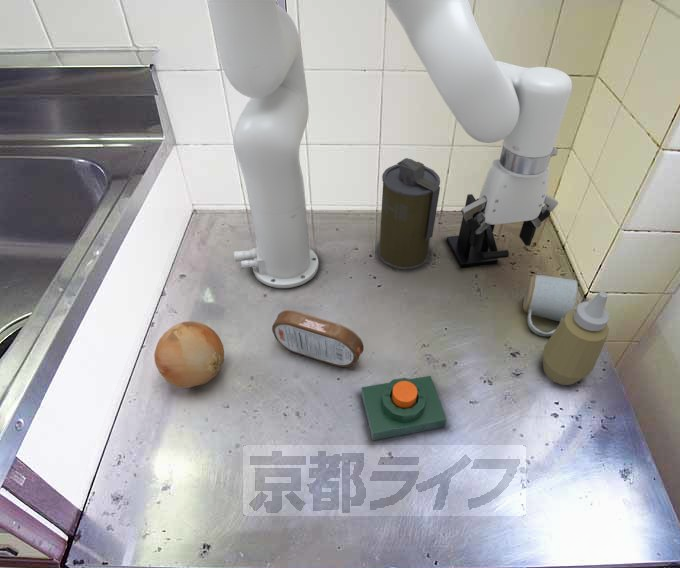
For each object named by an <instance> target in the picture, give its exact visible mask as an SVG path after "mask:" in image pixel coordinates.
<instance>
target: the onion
mask: <svg viewBox="0 0 680 568" xmlns="http://www.w3.org/2000/svg"><path fill="white" fill-rule="evenodd" d="M153 356H154V364H155V366H156V368H157V370H158V372H159V374H160V375H161V376H162V377H163V379H165V380H166V381H167V382H168V383H169V384H170V385H173V386H175V387H178V388H192V387H197V386H201V385H205V384H206V383H208V382H209V381H211V380H212V379H214V378H215V377H216V376H217V375H218V374H219V372H220V370H221V369H222V366H223V364H224V361H225V348H224V344H223V341H222V340H221V338H220V336H219V334H218V333H217V332H216V331H214V329H213V328H211V327H210V326H209V325H207V324H204V323H203V322H197V321H191V320H190V321H182V322H180V323H177V324H175V325H173V326H171V327H170V328H169V329H168V330H166V332H164V333H163V334H162V336H161V337H160V338H159V339H158V342H157V344H156V347H155V350H154V354H153Z"/></svg>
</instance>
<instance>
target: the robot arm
mask: <svg viewBox="0 0 680 568" xmlns="http://www.w3.org/2000/svg"><path fill="white" fill-rule="evenodd" d="M384 1H385V4H387V6H388V7H389V9H390V10H391V12H392V14H393V15H394V16H395V18H396V19H397V21H398V23H399V24H400V26H401V27H402V29H403V31H404V32H405V34H406V36H407V39H408V40H409V43H410V45H411V46H412V49H413V50H414V51H415V53H416V55H417V56H418V58H419V60H420V61H421V63H422V65H423V67H424V68H425V70H426V72H427V74H428V76H429V78H430V79H431V81H432V83H433V85H434V86H435V88H436V90H437V92H438V93H439V95H440V96H441V97H442V98H441V99H442V100H443V102H444V103H445V105H446V106H447V107H448V109H449V110H450V112H451V113H452V115H453V117H454V118H455V119H456V120H457V122H458V123H459V125H460V126H461V128H462V129H463V131H464V132H465V133H466V134H467V135H468V136H469V137H471V138H472V139H474V140H475V141H477V142H480V143H485V144H492V143H493V144H494V143H497V142H499V141H500V142H501V141H502V144H501V146H500V147H501V148H500V153H499V156H498V159H494V160H493V161H492V163H491V164H490V167H489V168H488V171H487V173H486V176H485V177H484V178H485V179H484V181H483V184H482V187H481V191H480V194H479V197H478V199H479V200H477V201H475V202H473V203H471V204H469V205H468V206H466V207H465V206H464V207H462V208H461V210H460V212H461V214H462V218H463V217H464V219H465V221H466V223H467V225H468V226H469V227H470V228H471V229H472V231H471V235H470V244H471V246H473V248H474V249H475V251H476V252H480V251H481V247H482V243H483V239H484V233H483V231H484V230H485V229H486V228H487V227H488V226H489V225H491V224H492V225H495V226H496V225H503V224H505V225H506V224H512V223H520V222H522V226H521V229H520V232H519V238H520V240H521V241H522V242H523V244H524V246H526V247H530V246H531V244H532V241H533V239H534V236H535V234H536V230H537V229H538V228H539V227H541V226H542V222H544V221H545V220H546V219H547V218H549V217H550V215H551V212H553V211H554V210H555V209H556V207H557V206H558V205H559V201H558V200H557V199H556V198H555V197H553V196H552V195H549V194H547V190H548V186H549V181H550V180H549V179H550V165H549V163H550V160H551V158H552V157H556V156H557V155H558V147H556V146H555V143H556V140H557V137H558V134H559V131H560V128H561V125H562V123H563V119H564V115H565V112H566V110H567V106H568V103H569V100H570V97H571V93H572V89H573V82H572V81H573V80H572V79H571V77H570V76H569V75H568V74H567V73H566V72H564V71H562V70H560V69H557V68H554V67H550V66H549V67H548V66H534V67H526V66H525V67H524V66H520V65H516V64H511V63H508V62H504V61H500V60H497V59H496V60H495V59H494V57H493V55H492V53H491V51H490V49H489V47H488V46H487V43H486V41H485V39H484V37H483V35H482V33H481V30H480V28H479V26H478V24H477V21H476V19H475V16H474V12H473V10H472V7H471V3H470V1H469V0H384ZM206 2H207V6H208V7H207V8H208V11H209V15H210V19H211V23H212V28H213V32H214V36H215V41H216V44H217V49H218V54H219V58H220V62H221V66H222V69H223V72H224V74H225V76H226V79H227V80H228V82H229V84H230V85H231V86H232V87H233V88H234V90H235V91H237V92H238V93H239V94H241V95H243V96H245V97H247V98H249V100H248V102H247V103H246V104H245V106H244V108H243V109H242V111H241V113H240V115H239V117H238V119H237V122H236V124H235V128H234V130H233V149H234V153H235V156H236V159H237V163H238V165H239V168H240V170H241V173H242V176H243V177H242V178H243V180H244V185H245V190H246V194H247V200H248V205H249V209H250V210H249V211H250V215H251V221H252V227H253V231H254V236H255V247H251V248H250V250H237V251H233V258H234V262H235V263H236V262H240V264H241V268H242V269H248V268H252V270H253V271H252V272H253V274H254V276H255V278H256V279H257V280H258V281H259V282H261V283H262V284H263V285H266V286H269V287H271V288H275V289H290V288H295V287H299V286H302V285H304V284H307V282H310V280H312V279H313V278H314V277H315V276H316V274H317V272H318V271H319V258H318V254H316V252H315V251H314V250H313V249H312V248H310V239H309V228H308V218H307V217H308V216H307V204H306V193H305V183H304V176H303V171H302V167H301V160H300V159H301V158H300V149H301V143H302V139H303V137H304V133H305V130H306V128H307V124H308V121H309V114H310V113H309V112H310V111H309V110H310V107H309V97H308V89H307V88H308V87H307V81H306V80H307V79H306V73H305V65H304V58H303V57H304V56H303V50H302V49H303V48H302V42H301V39H300V35H299V31H298V29H297V26H296V24H295V22H294V20H293V18H292V17H291V15H290V14H289V13H288V12H287V11H286V10H285V9H284V8H282V6H281V5H279V4H278V3H277V0H206ZM478 211H480V213H479V214H478V215H477V216H476V217H475V218H474V219H473V218H472V215H473V214H474V213H476V212H478ZM483 219H484V221H483V222H482V223H481V224H479V223H480V222H481V221H482V220H483Z"/></svg>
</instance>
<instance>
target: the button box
mask: <svg viewBox="0 0 680 568" xmlns="http://www.w3.org/2000/svg"><path fill="white" fill-rule="evenodd" d="M400 381H408V382H411V383H413V384H414V385H415V386H416V388H417V398H416V402H415V404H414V405H413V406H411V407H409V408H401V407H398V406H397V405H395V404H394V402H393V400H392V392H393V387H394V385H395V384H396V383H398V382H400ZM361 398H362V403H363V407H364V411H365V414H366V419H367V422H368V427H369V431H370V435H371V436H370V437H371V440H372V441H378V440H383V439H388V438H394V437H400V436H404V435H410V434H416V433H419V432H425V431H430V430H436V429H441V428H445V426H446V422H447V417H446V415H445V411H444V409H443V406H442V404H441V401H440V398H439V396H438V393H437V389H436V386H435V385H434V382H433V379H432V376H431V375H426V376H420V377H415V378H407V377H399V378H394V379H391V381H389V382H385V383H379V384H374V385H373V384H372V385H367V386H362V387H361Z"/></svg>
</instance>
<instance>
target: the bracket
mask: <svg viewBox="0 0 680 568" xmlns="http://www.w3.org/2000/svg"><path fill="white" fill-rule="evenodd" d="M476 199H477V198H475V196H474V194H472V193H468V194H467V195H466V199H465V200H466V201H465V205H464V207H466V206H468V205H469V204H471V203H473V202H475V201H476ZM478 214H479V211H478V212H476V213H474V214H473V215H472V218H473V219H474V218H475V217H476V216H477V215H478ZM460 223H461V224H460V228H459V233H458V235H452V236H451V235H449V236H446V240H445V242H446V244H447V245H448V247H449V250H450V252H451V253H452V255H453V257H454V259H455V261H456V263H457V265H458V267H459V269H468V268H474V267H475V268H476V267H477V268H478V267H484V266H493V265H497V264H498V262H499V258H498V259H490V260H482V259H481V253H482V252H490V250H489V246H488V242H487V239H486V235H485V231H483V233H484V239H483V243H482V247H481V251H480V252H476V251H475V249H474V248H473V246H471V244H470V235H471V231H472V229H471V228H470V227H469V226H468V225H467V223H466V221H465V219H464V217H463V216H462V219H461V222H460ZM481 223H482V221H481V222H480V223H479V224H481ZM495 226H496V224H495V225H492V224H491V228H492V232H493V233H494V230H495Z"/></svg>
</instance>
